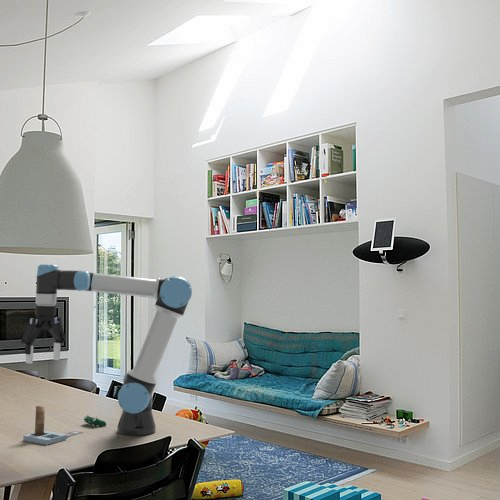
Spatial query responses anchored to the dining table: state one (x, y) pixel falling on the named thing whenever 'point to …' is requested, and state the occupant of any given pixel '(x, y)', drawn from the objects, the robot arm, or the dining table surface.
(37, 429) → the peg
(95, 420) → the gaming controller
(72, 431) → the card
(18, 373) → the dining table surface
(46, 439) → the socket board
